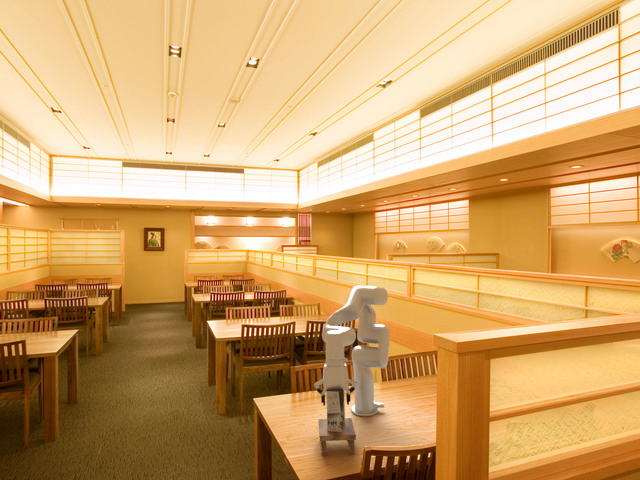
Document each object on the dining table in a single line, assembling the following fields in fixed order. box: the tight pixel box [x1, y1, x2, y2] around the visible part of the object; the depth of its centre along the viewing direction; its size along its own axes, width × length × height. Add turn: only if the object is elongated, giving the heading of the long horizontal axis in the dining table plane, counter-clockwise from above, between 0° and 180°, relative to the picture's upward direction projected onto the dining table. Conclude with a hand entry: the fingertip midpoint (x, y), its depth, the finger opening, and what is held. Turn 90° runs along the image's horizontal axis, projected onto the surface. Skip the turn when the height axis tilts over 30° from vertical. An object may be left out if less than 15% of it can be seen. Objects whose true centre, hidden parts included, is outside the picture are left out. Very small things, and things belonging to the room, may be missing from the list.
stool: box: [318, 417, 357, 457], centre depth 159 cm, size 14×14×8 cm
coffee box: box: [326, 389, 346, 432], centre depth 159 cm, size 9×6×16 cm
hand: (335, 403), depth 159 cm, fingers open, 9 cm apart
